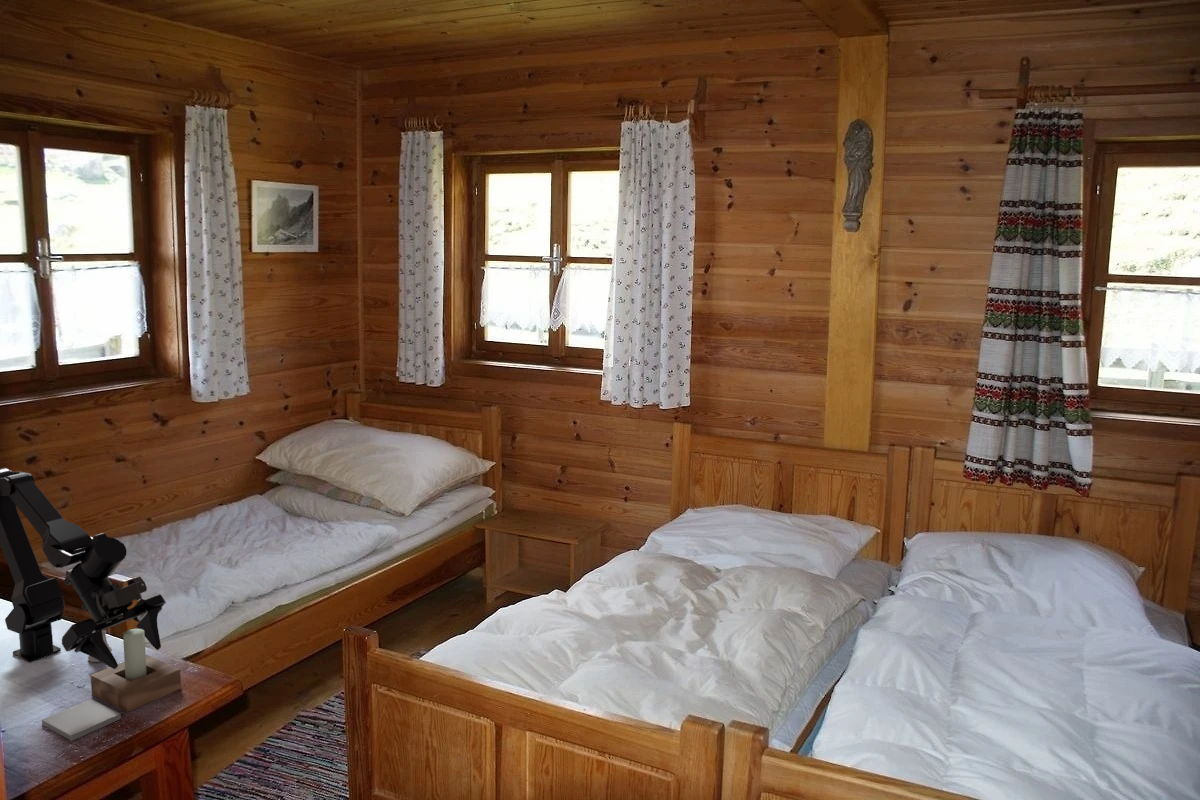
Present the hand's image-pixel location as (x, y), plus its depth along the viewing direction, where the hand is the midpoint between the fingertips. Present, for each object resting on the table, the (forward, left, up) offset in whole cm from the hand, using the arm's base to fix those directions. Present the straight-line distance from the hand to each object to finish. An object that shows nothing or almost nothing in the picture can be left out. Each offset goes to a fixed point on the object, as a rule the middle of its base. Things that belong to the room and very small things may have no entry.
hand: (138, 657), depth 181 cm
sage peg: (-1, 0, -7) cm, 7 cm away
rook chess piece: (-19, +4, -7) cm, 21 cm away
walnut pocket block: (-1, 0, -7) cm, 7 cm away
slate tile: (+1, -12, -7) cm, 14 cm away
